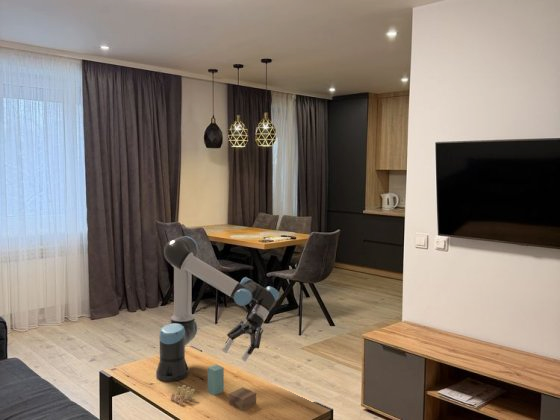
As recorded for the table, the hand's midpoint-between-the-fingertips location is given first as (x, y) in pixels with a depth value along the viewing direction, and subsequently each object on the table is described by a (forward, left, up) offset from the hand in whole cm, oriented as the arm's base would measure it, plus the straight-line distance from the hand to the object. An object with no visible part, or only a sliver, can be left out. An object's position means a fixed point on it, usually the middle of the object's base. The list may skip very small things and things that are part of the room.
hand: (233, 355), depth 223 cm
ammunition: (-4, -25, -14) cm, 29 cm away
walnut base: (+17, -9, -14) cm, 24 cm away
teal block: (0, -10, -14) cm, 17 cm away
